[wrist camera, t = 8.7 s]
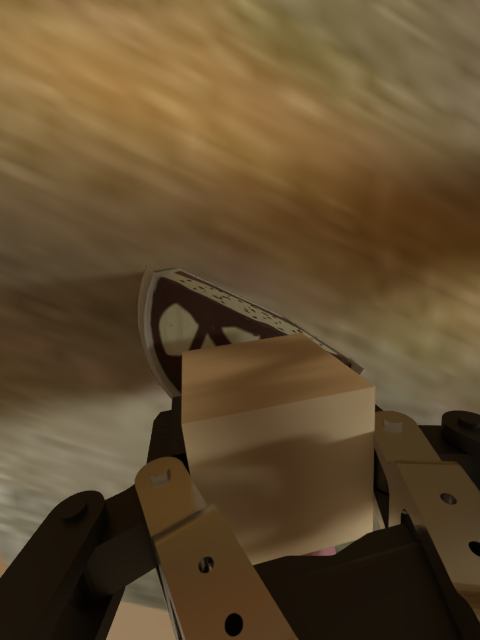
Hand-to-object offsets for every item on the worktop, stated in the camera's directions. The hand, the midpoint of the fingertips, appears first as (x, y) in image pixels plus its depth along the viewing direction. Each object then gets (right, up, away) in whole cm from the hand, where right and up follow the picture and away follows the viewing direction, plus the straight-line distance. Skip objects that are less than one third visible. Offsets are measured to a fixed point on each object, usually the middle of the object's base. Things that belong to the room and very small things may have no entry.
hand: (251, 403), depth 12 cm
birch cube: (0, 0, 0) cm, 1 cm away
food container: (-2, +3, +11) cm, 12 cm away
